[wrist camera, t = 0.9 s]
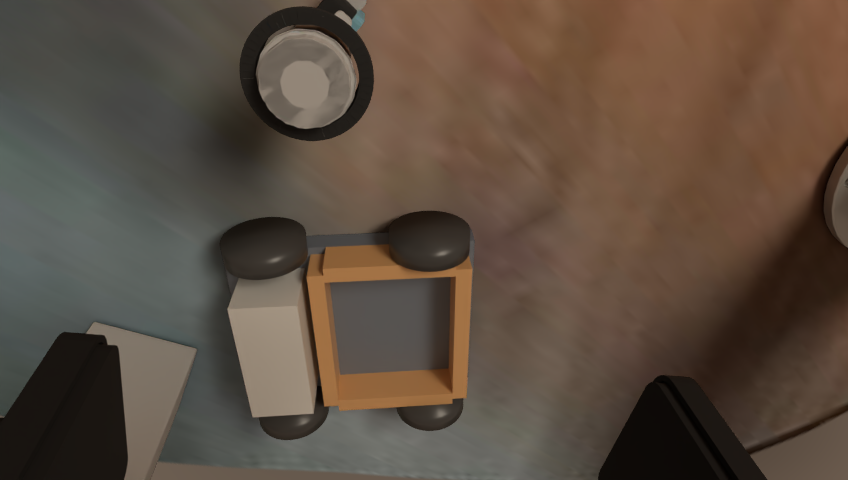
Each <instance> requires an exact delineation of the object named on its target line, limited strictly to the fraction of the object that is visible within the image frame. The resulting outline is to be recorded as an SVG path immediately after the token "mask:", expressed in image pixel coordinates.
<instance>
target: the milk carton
mask: <svg viewBox="0 0 848 480" xmlns="http://www.w3.org/2000/svg"><path fill="white" fill-rule="evenodd" d="M86 334H97V335H104V336H105V337H106V339H107V344H108V345H116V346H118V349H119V356H120V368H121V380H122V391H123V403H124V414H125V426H126V438H127V449H128V465H127V470H126V474H125V478H124V480H150V479H151V477H152V474H153V472H154V469H155V467H156V464H157V462H158V459H159V457H160V454H161V451H162V449H163V446H164V444H165V441H166V439H167V436H168V434H169V431H170V428H171V426H172V423H173V421H174V418H175V416H176V413H177V411H178V408H179V405H180V402H181V399H182V396H183V393H184V390H185V387H186V384H187V380H188V377H189V374H190V371H191V368H192V365H193V362H194V359H195V356H196V353H197V349H196V348H192V347H189V346H185V345H181V344H177V343H174V342H170V341H166V340H162V339H159V338H155V337H151V336H147V335H143V334H140V333H136V332H132V331H128V330H124V329H120V328H117V327H113V326H109V325H105V324H101V323H97V322H93V324H92V325H91V327H90V328H89V330H88V331H87V332H86Z"/></svg>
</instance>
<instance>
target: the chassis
mask: <svg viewBox="0 0 848 480" xmlns="http://www.w3.org/2000/svg"><path fill="white" fill-rule="evenodd" d="M388 232H389V233H366V234H342V235H318V236H306V232H305V229H304V227H303V226H302V225H301V224H300V223H298V222H297V221H294V220H291V219H287V218H281V217H265V218H258V219H253V220H249V221H246V222H243V223H241V224H238V225H236V226H234V227H232V228H231V229H229V230H228V231H227V232H226V233H225V234H224V235H223V236H222V238H221V240H220V248H221V253H222V258H223V262H224V267H225V271H226V275H227V280H228V284H229V289H230V293H231V301H230V303H229V306H228V309H227V310H228V314H229V318H230V323H231V327H232V331H233V335H234V340H235V344H236V348H237V353H238V357H239V361H240V365H241V370H242V374H243V378H244V383H245V387H246V391H247V395H248V400H249V404H250V408H251V412H252V417H259V421H260V425H261V427H262V429H263V430H264V431H265V432H266V433H267V434H268V435H270V436H271V437H274V438H276V439H281V440H293V439H299V438H302V437H305V436H307V435H309V434H311V433H313V432H314V431H316V430H317V429H318V428H319V427H320V426H321V425H322V424H323V423H324V421H325V420H326V418H327V415H328V411H329V406H339V411H342V410H359V409H375V408H391V407H396V408H397V412H398V414H399V416H400V418H401V419H402V420H403V421H404V422H405V423H406V424H408V425H409V426H411V427H413V428H416V429H419V430H425V431H434V430H440V429H443V428H446V427H448V426H450V425H452V424H453V423H454V422H455V421H456V420H457V419H458V418H459V417H460V415H461V413H462V410H463V398H466V396H467V377H468V370H469V349H470V328H471V307H472V286H473V265H474V243H475V240H474V237H473V233H472V230H471V229H470V227H469V225H468V224H467V223H466V222H465V221H464V220H463V219H461V218H460V217H458V216H456V215H453V214H450V213H446V212H440V211H419V212H413V213H409V214H406V215H403V216H401V217H399V218H398V219H396V220H395V221H393V223H392V224H391V225H390V227H389V231H388Z"/></svg>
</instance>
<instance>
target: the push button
mask: <svg viewBox="0 0 848 480" xmlns="http://www.w3.org/2000/svg"><path fill="white" fill-rule="evenodd" d="M366 1H367V0H323V1H322V2H321V3H320V5H319V6H318V7H317V8H313V7H304V6H302V7H291V8H286V9H283V10H280V11H277V12H275V13H273V14H271V15H269V16H268V17H266V18H265V19H264V20H262V21H261V22H260V23H259V24H258V25H257V26H256V27H255V28H254V30H253V31H252V32H251V33H250V35H249V37H248V38H247V40H246V42H245V44H244V47H243V50H242V54H241V58H240V79H241V84H242V88H243V91H244V94H245V96H246V98H247V100H248V102H249V104H250V106H251V107H252V109H253V110H254V111H255V113H256V114H257V115H258V116H259V117H260V118H261V119H262V120H263V121H264V122H265V123H266V124H267V125H268V126H270V127H271V128H273V129H274V130H276V131H277V132H279V133H281V134H283V135H286V136H288V137H291V138H295V139H299V140H306V141H319V140H326V139H330V138H333V137H336V136H338V135H340V134H342V133H344V132H346V131H347V130H349V129H350V128H351V127H353V126H354V125H355V124H356V123H357V122H358V121H359V120H360V118H361V117H362V116H363V114H364V113H365V111H366V109H367V107H368V105H369V103H370V100H371V96H372V92H373V84H374V74H373V66H372V61H371V58H370V55H369V52H368V50H367V48H366V46H365V44H364V42H363V41H362V39H361V38H360V36H359V35H358V34H357V30H358V29H359V28H360V27H361V26H362V24H363V23H364V21H365V19H364V18H365V13H363V12H362V11H361V9H362V8H363V7H364V6H365V4H366ZM291 25H295V26H294V27H293V28H292V29H290V30H289V31H287V32H285V33H282V34H279V35H277V36H276V37H274V38H273V39H272V40H271V41H270V42H269V43H268V45H267V46H266V47H265V48H264V46H265V43H266V41H267V40H268V38H269V37H270V36H271V35H272V34H273V33H275V32H276V31H278V30H280V29H282V28H284V27H287V26H291ZM351 53H352V54H353V56H354V58H355V61H356V63H357V67H358V71H359V84H358V87H357V90H356V92H355V88H356V74H355V71H354V68H353V64H352V61H351Z"/></svg>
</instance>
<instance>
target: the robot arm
mask: <svg viewBox="0 0 848 480" xmlns="http://www.w3.org/2000/svg"><path fill="white" fill-rule="evenodd" d="M824 215H825V220H826V224H827V226H828V228H829V230H830V232H831V233H832V235H833V236H834V237H835V238H836V239H837V240H838V241H839V242H840V243H841V244H843V245H844V246H845V247H847V248H848V146H847V147H846V149H845V150H844V152H843V153H842V155H841V157H840V158H839V160H838V161H837V163H836V164H835V167H834V169H833V171H832V173H831V176H830V178H829V180H828V184H827V188H826V191H825V195H824ZM127 465H128V449H127V438H126V426H125V414H124V403H123V391H122V380H121V368H120V356H119V349H118V346H116V345H108V344H107V339H106V337H105V336H104V335H97V334H83V333H69V332H63V333H61V334H60V335H59V336H58V337H57V339H56V340H55V342H54V343H53V345H52V346H51V348H50V349H49V351H48V352H47V354H46V355H45V357H44V358H43V360H42V361H41V363H40V364H39V366H38V367H37V369H36V370H35V372H34V373H33V375H32V376H31V378H30V379H29V381H28V382H27V384H26V386H25V387H24V389H23V390H22V392H21V393H20V395H19V396H18V398H17V399H16V401H15V402H14V404H13V405H12V407H11V408H10V410H9V411H8V413H7V414H6V416H5V417H4V418H0V480H124V478H125V474H126V470H127ZM598 480H767V479H766V477H765V476H764V474H763V473H762V472H761V470H760V469H759V468H758V466H757V465H756V464H755V462H754V461H753V459H752V458H751V457H750V455H749V454H748V452H747V451H746V450H745V448H744V447H743V446H742V444H741V443H740V441H739V440H738V439H737V437H736V436H735V435H734V433H733V432H732V430H731V429H730V428H729V426H728V425H727V424H726V422H725V421H724V419H723V418H722V417H721V415H720V414H719V413H718V411H717V410H716V408H715V407H714V406H713V404H712V403H711V401H710V400H709V399H708V397H707V396H706V395H705V393H704V392H703V390H702V389H701V388H700V386H699V385H698V384H697V383H696V382H695V381H694V379H692V378H690V377H680V376H666V375H660V376H658V377H656V378H655V380H654V381H653V382H651V383H649V384H648V385H647V386H646V388H645V390H644V391H643V393H642V395H641V397H640V399H639V400H638V402H637V404H636V406H635V408H634V410H633V411H632V413H631V415H630V417H629V419H628V421H627V422H626V424H625V426H624V428H623V430H622V431H621V433H620V435H619V437H618V439H617V441H616V442H615V444H614V446H613V448H612V450H611V451H610V453H609V455H608V457H607V459H606V461H605V462H604V464H603V466H602V468H601V470H600V472H599V476H598Z"/></svg>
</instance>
